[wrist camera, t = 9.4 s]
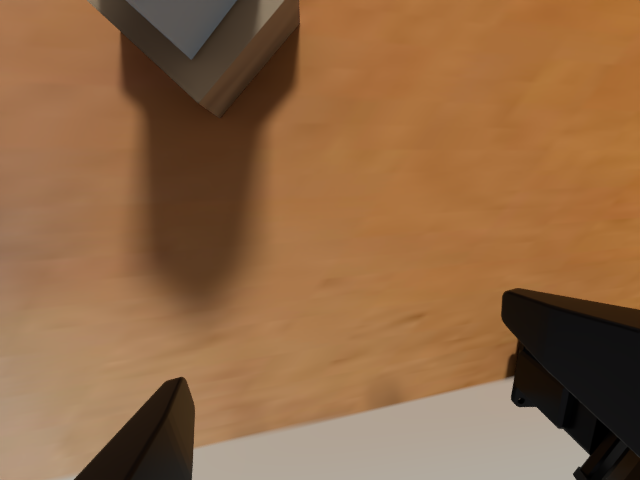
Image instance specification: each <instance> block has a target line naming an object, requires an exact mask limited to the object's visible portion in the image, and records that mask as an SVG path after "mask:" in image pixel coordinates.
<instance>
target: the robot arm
mask: <svg viewBox="0 0 640 480" xmlns="http://www.w3.org/2000/svg"><path fill="white" fill-rule="evenodd" d="M501 317H502V320H503V322H504V324H505V325H506V326H507V327H508V328H509V330H510V331H511V332H512V333H513V334H514V335H515V336H516V337H517V338H518V340H519V341H520V346H519V352H518V358H517V364H516V371H515V377H514V383H513V389H512V395H511V400H512V401H513V402H514V404H515V405H516V406H518V407H537V408H538V409H539V410H540V411H541V412H542V413H543V414H544V415H545V416H546V417H547V418H548V419H549V420H550V421H551V422H552V423H553V424H554V425H555V426H556V427H557V428H559V429H564V430H565V431H566V432H567V433H568V434H569V435H570V436H571V437H572V438H573V439H574V440H575V441H576V442H577V443H578V444H579V445H580V446H581V447H582V448H583V449H584V450H585V451H586V452H587V453H588V454H589V455H590V456H589V458H588V459H587V460H586V462H585V463H584V464H583V465H582V467H578V468H577V469H576V471H575V472H574V473H573V475H574V477H575V478H576V480H640V310H638V309H632V308H627V307H621V306H615V305H610V304H604V303H599V302H593V301H588V300H582V299H576V298H571V297H565V296H560V295H554V294H549V293H543V292H537V291H532V290H526V289H521V288H515V289H512V290H508V291H505V292H504V293H503V296H502V311H501ZM194 422H195V407H194V402H193V399H192V396H191V393H190V390H189V387H188V384H187V381H186V379H185V378H184V377H179V378H175V379H171V380H168V381H166V382H165V383H163V384H162V386H161V387H160V388H159V389H158V390H157V391H156V392H155V393H154V394H153V395H152V396H151V397H150V398H149V400H148V401H147V402H146V403H145V404H144V405H143V406H142V407H141V408H140V409H139V410H138V411H137V412H136V413H135V415H134V416H133V417H132V418H131V419H130V420H129V421H128V422H127V423H126V424H125V425H124V426H123V427H122V429H121V430H120V431H119V432H118V433H117V434H116V435H115V436H114V437H113V438H112V439H111V440H110V441H109V442H108V444H107V445H106V446H105V447H104V448H103V449H102V450H101V451H100V452H99V453H98V454H97V455H96V456H95V457H94V459H93V460H92V461H91V462H90V463H89V464H88V465H87V466H86V467H85V468H84V469H83V470H82V471H81V473H80V474H79V475H78V476H77V477H76V478H75V479H74V480H192V466H193V444H194Z"/></svg>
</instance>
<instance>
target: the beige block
mask: <svg viewBox="0 0 640 480" xmlns="http://www.w3.org/2000/svg"><path fill="white" fill-rule="evenodd" d="M87 1H88V2H89V3H91V4H92V5H93V6H94V7H95V8H96V9H97V10H98V11H99V12H100V13H101V14H102V15H103V16H105V17H106V18H107V19H108V20H109V21H110V22H111V23H112V24H113V25H114V26H115V27H116V28H118V29H119V30H120V31H121V32H122V33H123V34H124V35H125V36H126V37H127V38H128V39H129V40H130V41H132V42H133V43H134V44H135V45H136V46H137V47H138V48H139V49H140V50H141V51H142V52H143V53H145V54H146V55H147V56H148V57H149V58H150V59H151V60H152V61H153V62H154V63H155V64H156V65H157V66H159V67H160V68H161V69H162V70H163V71H164V72H165V73H166V74H167V75H168V76H169V77H170V78H171V79H173V80H174V81H175V82H176V83H177V84H178V85H179V86H180V87H181V88H182V89H183V90H184V91H186V92H187V93H188V94H189V95H190V96H191V97H192V98H193V99H194V100H195V101H196V102H197V103H198V104H200V105H201V106H203V107H204V108H206V109H207V110H208V111H210V112H211V113H213V114H214V115H216V116H217V117H218V118H220V117H221V116H222V115H223V114H224V113H225V112H226V110H227V109H228V108H229V107H230V106H231V104H232V103H233V102H234V101H235V100H236V98H237V97H238V96H239V95H240V94H241V93H242V91H243V90H244V89H245V88H246V87H247V85H248V84H249V83H250V82H251V81H252V80H253V78H254V77H255V76H256V75H257V74H258V72H259V71H260V70H261V69H262V68H263V67H264V65H265V64H266V63H267V62H268V61H269V59H270V58H271V57H272V56H273V55H274V53H275V52H276V51H277V50H278V49H279V48H280V46H281V45H282V44H283V43H284V42H285V40H286V39H287V38H288V37H289V36H290V35H291V33H292V32H293V31H294V30H295V29H296V27H297V26H298V25H299V24H300V15H299V0H237V1H236V2H235V4H234V5H233V6H232V7H231V9H230V10H229V11H228V13H227V14H226V15H225V17H224V18H223V19H222V21H221V22H220V23H219V25H218V26H217V27H216V28H215V30H214V31H213V32H212V34H211V35H210V36H209V38H208V39H207V40H206V42H205V43H204V44H203V46H202V47H201V48H200V49H199V51H198V52H197V53H196V55H195V56H194V57H193V59H192V60H191V59H190V58H189V57H187V56H186V55H185V54H184V53H183V52H182V51H181V50H180V49H179V48H178V47H176V46H175V45H174V44H173V43H172V42H171V41H170V40H169V39H168V38H167V37H165V36H164V35H163V34H162V33H161V32H160V31H159V30H158V29H157V28H155V27H154V26H153V25H152V24H151V23H150V22H149V21H148V20H147V19H146V18H144V17H143V16H142V15H141V14H140V13H139V12H138V11H137V10H136V9H135V8H133V7H132V6H131V5H130V4H129V3H128V2H127V1H126V0H87Z"/></svg>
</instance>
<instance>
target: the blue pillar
mask: <svg viewBox="0 0 640 480" xmlns="http://www.w3.org/2000/svg"><path fill="white" fill-rule="evenodd" d="M126 1H127V2H128V3H129V4H130V5H131V6H132V7H133V8H135V9H136V10H137V11H138V12H139V13H140V14H141V15H142V16H143V17H144V18H146V19H147V20H148V21H149V22H150V23H151V24H152V25H153V26H154V27H155V28H157V29H158V30H159V31H160V32H161V33H162V34H163V35H164V36H165V37H167V38H168V39H169V40H170V41H171V42H172V43H173V44H174V45H175V46H176V47H178V48H179V49H180V50H181V51H182V52H183V53H184V54H185V55H186V56H187V57H189V58H190V59H191V60H192V59H193V57H194V56H195V55H196V53H197V52H198V51H199V49H200V48H201V47H202V46H203V44H204V43H205V42H206V40H207V39H208V38H209V36H210V35H211V34H212V32H213V31H214V30H215V28H216V27H217V26H218V25H219V23H220V22H221V21H222V19H223V18H224V17H225V15H226V14H227V13H228V11H229V10H230V9H231V7H232V6H233V5H234V4H235V2H236V1H237V0H126Z"/></svg>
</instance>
